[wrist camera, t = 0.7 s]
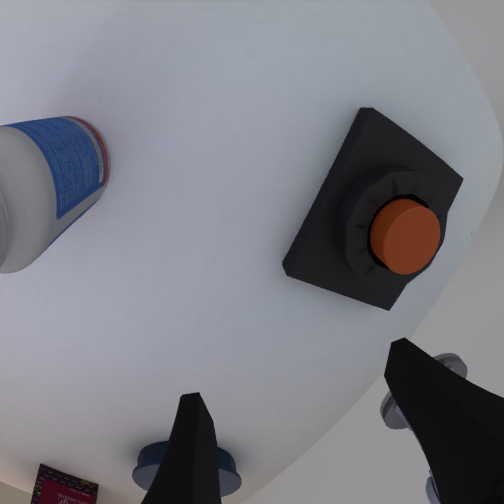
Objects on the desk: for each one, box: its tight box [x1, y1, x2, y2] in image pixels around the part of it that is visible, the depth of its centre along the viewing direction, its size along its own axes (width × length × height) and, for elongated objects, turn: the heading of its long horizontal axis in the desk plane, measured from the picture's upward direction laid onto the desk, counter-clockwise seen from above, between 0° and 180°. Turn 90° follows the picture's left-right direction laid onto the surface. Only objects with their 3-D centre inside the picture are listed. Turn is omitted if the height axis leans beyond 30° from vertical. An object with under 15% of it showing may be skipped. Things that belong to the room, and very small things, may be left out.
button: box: [370, 198, 440, 274], centre depth 14 cm, size 4×4×2 cm
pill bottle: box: [0, 116, 110, 273], centre depth 10 cm, size 6×5×10 cm
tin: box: [137, 441, 236, 472], centre depth 26 cm, size 10×10×2 cm
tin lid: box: [132, 460, 241, 497], centre depth 23 cm, size 11×11×4 cm
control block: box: [282, 108, 463, 311], centre depth 16 cm, size 10×8×3 cm
